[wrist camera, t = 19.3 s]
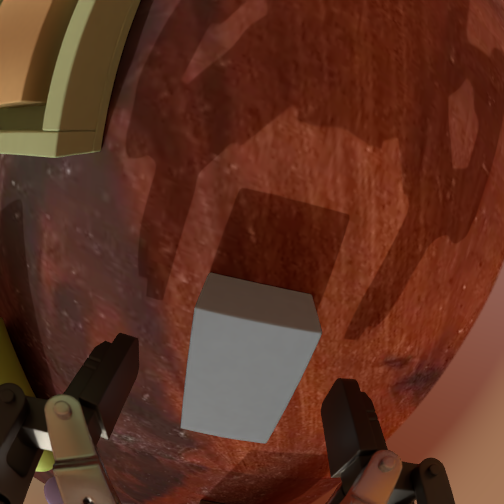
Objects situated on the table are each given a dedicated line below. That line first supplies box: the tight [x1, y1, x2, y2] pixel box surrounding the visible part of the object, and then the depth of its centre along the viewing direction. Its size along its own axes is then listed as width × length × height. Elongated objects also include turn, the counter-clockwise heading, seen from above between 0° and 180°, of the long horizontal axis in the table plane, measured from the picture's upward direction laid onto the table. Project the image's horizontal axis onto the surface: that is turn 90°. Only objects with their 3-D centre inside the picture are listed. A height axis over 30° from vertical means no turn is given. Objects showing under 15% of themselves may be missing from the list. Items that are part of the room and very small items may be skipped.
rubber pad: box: [181, 273, 322, 443], centre depth 11 cm, size 7×4×2 cm, turn 167°
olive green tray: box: [0, 0, 141, 158], centre depth 6 cm, size 11×8×3 cm
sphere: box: [44, 477, 64, 504], centre depth 21 cm, size 7×7×7 cm
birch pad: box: [0, 0, 79, 109], centre depth 5 cm, size 7×4×2 cm, turn 167°
